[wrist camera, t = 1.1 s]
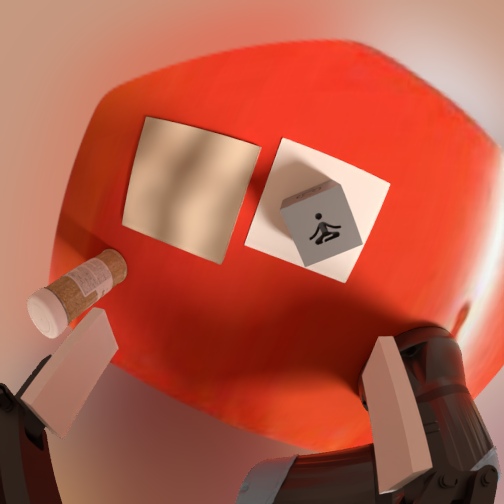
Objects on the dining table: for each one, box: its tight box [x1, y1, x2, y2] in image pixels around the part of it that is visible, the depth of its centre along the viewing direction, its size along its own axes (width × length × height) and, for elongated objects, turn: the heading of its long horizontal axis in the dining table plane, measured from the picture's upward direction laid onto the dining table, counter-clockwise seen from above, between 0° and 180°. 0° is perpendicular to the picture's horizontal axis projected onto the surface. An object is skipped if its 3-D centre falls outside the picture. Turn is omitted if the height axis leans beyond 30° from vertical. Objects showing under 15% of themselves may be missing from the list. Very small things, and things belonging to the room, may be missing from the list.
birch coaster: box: [122, 116, 262, 265], centre depth 25 cm, size 12×12×1 cm
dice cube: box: [280, 179, 363, 267], centre depth 22 cm, size 5×5×5 cm
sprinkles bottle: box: [27, 249, 127, 338], centre depth 24 cm, size 5×5×14 cm
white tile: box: [244, 138, 390, 283], centre depth 25 cm, size 11×11×1 cm
